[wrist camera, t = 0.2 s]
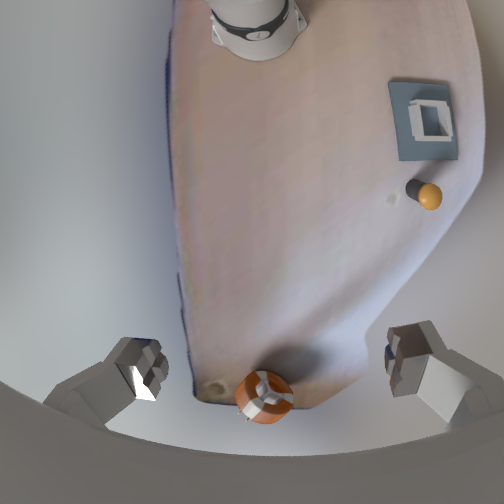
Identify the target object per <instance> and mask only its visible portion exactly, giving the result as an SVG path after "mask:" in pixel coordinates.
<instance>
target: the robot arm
mask: <svg viewBox="0 0 504 504" xmlns="http://www.w3.org/2000/svg"><path fill="white" fill-rule="evenodd" d="M204 1H205V2H206V3H207V4H208V5H209V6H210V9H211V10H212V13H213V14H211V20H213V26H212V41H213V42H214V43H215V44H217V45H220V46H224V47H226V48H228V49H229V50H231V51H232V52H233V53H234V54H236V55H238V56H239V57H242V58H245V59H248V60H255V61H261V60H268V59H272V58H275V57H277V56H279V55H281V54H283V53H284V52H286V51H287V50H288V49H289V48H290V47H291V45H292V44H293V42H294V40H295V38H296V37H297V35H298V34H300V33H301V32H302V31H304V30H305V29H306V28H307V22H306V20H305V18H304V17H303V15H302V13H301V11H300V9H299V8H298V6H297V4H296V3H295V1H294V0H204ZM299 19H300V21H299ZM387 339H388V341H389V344H388V345H387V346H386V348H385V368H386V371H387V374H389V375H390V376H391V379H390V386H391V390H392V394H393V397H398V396H405V395H410V394H416V393H417V395H418V396H419V397H420V398H421V399H422V400H423V401H424V402H426V403H427V404H428V405H429V406H430V407H431V408H432V409H433V410H434V411H435V412H437V413H438V414H439V415H440V416H441V417H442V418H443V419H444V420H445V421H446V422H447V423H448V424H447V426H446V428H445V429H444V431H443V433H440V434H437V435H434V436H430V437H426V438H422V439H419V440H415V441H410V442H406V443H402V444H398V445H392V446H387V447H382V448H377V449H370V450H363V451H356V452H348V453H339V454H328V455H314V456H251V455H236V454H225V453H214V452H207V451H200V450H193V449H187V448H181V447H175V446H170V445H165V444H161V443H156V442H151V441H147V440H143V439H139V438H135V437H132V436H128V435H124V434H121V433H118V432H114V431H111V430H109V429H108V428H107V427H106V426H105V425H104V424H105V423H107V422H108V421H109V420H110V419H112V418H113V417H114V416H115V415H117V414H118V413H119V412H121V411H122V410H123V409H124V408H126V407H127V406H128V405H129V404H131V403H132V402H133V401H134V400H135V399H136V398H143V399H150V400H155V399H156V397H157V395H158V393H159V391H160V389H161V386H160V383H161V382H162V381H164V380H165V379H166V377H167V375H168V369H169V365H168V361H167V358H166V356H164V355H163V354H162V353H161V352H160V351H161V348H162V347H161V345H160V343H159V341H158V340H155V339H144V338H130V337H124V338H121V339H120V341H119V342H118V343H117V344H116V346H115V347H114V348H113V350H112V351H111V352H110V353H109V355H108V356H107V357H106V359H105V360H104V361H103V362H99V363H97V364H95V365H93V366H91V367H89V368H87V369H85V370H84V371H82V372H80V373H78V374H76V375H74V376H72V377H71V378H69V379H67V380H65V381H63V382H61V383H59V384H57V385H56V386H55V388H54V389H53V390H52V392H51V393H50V394H49V395H48V397H47V398H46V399H45V401H44V402H43V403H40V402H38V401H36V400H34V399H32V398H30V397H28V396H26V395H24V394H22V393H20V392H19V391H17V390H15V389H13V388H11V387H10V386H8V385H6V384H5V383H3V382H1V381H0V504H504V380H503V379H502V377H501V376H499V375H497V374H495V373H493V372H492V371H490V370H488V369H486V368H484V367H483V366H481V365H479V364H477V363H475V362H474V361H472V360H470V359H468V358H466V357H465V356H463V355H461V354H459V353H457V352H456V351H454V350H452V349H451V350H448V349H447V348H446V346H445V344H444V342H443V341H442V339H441V337H440V335H439V334H438V332H437V330H436V329H435V327H434V325H433V324H432V322H431V321H430V320H428V321H423V322H418V323H415V324H409V325H403V326H397V327H391V328H389V330H388V333H387Z"/></svg>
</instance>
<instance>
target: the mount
mask: <svg viewBox="0 0 504 504" xmlns="http://www.w3.org/2000/svg"><path fill="white" fill-rule="evenodd" d="M388 88H389V93H390V98H391V103H392V109H393V115H394V121H395V128H396V136H397V144H398V153H399V161H420V160H458V157H457V145H456V135H455V126H454V119H453V112H452V105H451V100H450V94H449V89H448V86H446V85H437V84H425V83H409V82H389V83H388Z"/></svg>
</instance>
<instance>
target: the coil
mask: <svg viewBox="0 0 504 504" xmlns="http://www.w3.org/2000/svg"><path fill="white" fill-rule="evenodd" d="M286 383H287V382H286V381H285V380H284V379H282V378H281V377H280V376H279V375H278V376H277V375H276V374H275V373H272V372H270V371H267V370H265V371H256V372H255V371H253V372H251V373H250V374H249V375H248V376H247V377H246V378H245V379H244V380H243V382H242V383H241V384H240V385H239V387H238V388H237V391H236V402H237V405H238V406H239V409H241V411H243V412H244V413H245V415H247V416H248V417H249V418H250V419H252V420H253V421H255V422H258V423H261V424H272V423H275V422H276V421H278V420H279V419H281V418H282V417H283V416H284V415H285V414H286V413H287V412H289V411H290V410H291V409H292V408H293V404H292V403H293V392H292V390H291V388H290V387H289V386H288V385H287V384H288V383H287V384H286ZM241 411H240V412H241ZM240 412H239V413H240ZM239 413H238V414H239ZM249 418H248V419H249ZM248 419H247V420H248ZM247 420H246V421H247Z"/></svg>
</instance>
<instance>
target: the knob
mask: <svg viewBox="0 0 504 504" xmlns="http://www.w3.org/2000/svg"><path fill="white" fill-rule="evenodd" d="M406 193H407V195H408V196H409V197H410V198H412V199H414V200H416V201H418V202H419V203H420V204H421V206H422V207H424V208H425V209H427V210H435V209H437V208H438V207H439V206H440V204H441V202H442V192H441V190H440V188H439V187H438V186H436V185H434V184H431V183H427V184H426V183H423V182H421V181H418V180H415V179H412V180H410V181H409V182H408V183H407V185H406Z"/></svg>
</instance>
